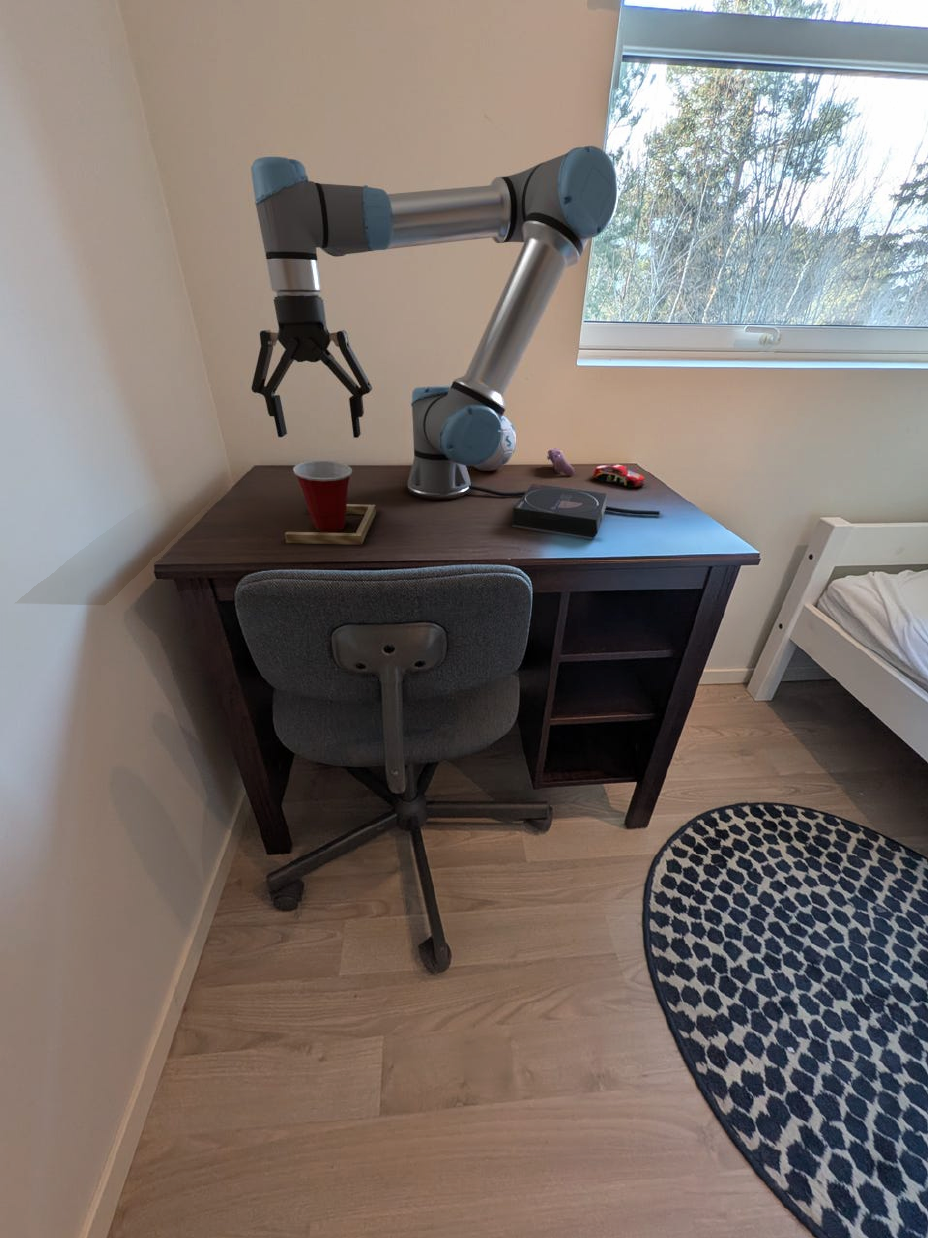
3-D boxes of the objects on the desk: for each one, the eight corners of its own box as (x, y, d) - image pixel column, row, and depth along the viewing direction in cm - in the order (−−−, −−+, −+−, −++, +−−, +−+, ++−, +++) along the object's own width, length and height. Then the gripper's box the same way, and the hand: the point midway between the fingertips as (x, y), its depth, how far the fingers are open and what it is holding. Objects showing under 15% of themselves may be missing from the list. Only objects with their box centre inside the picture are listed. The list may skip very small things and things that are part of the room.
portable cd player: (596, 539, 93) (599, 520, 91) (511, 526, 98) (513, 507, 96) (605, 511, 106) (608, 493, 104) (530, 500, 111) (532, 483, 109)
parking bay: (376, 512, 103) (375, 504, 102) (361, 544, 89) (360, 535, 88) (310, 511, 103) (309, 503, 102) (286, 543, 89) (284, 534, 88)
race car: (646, 485, 122) (650, 469, 120) (638, 490, 118) (641, 474, 116) (600, 474, 129) (602, 459, 127) (590, 479, 125) (593, 463, 123)
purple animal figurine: (551, 471, 136) (542, 448, 132) (566, 463, 135) (558, 440, 131) (560, 482, 128) (551, 458, 124) (576, 474, 127) (567, 450, 123)
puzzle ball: (511, 479, 124) (515, 418, 116) (454, 475, 126) (454, 414, 118) (516, 463, 136) (520, 407, 128) (464, 460, 138) (465, 404, 130)
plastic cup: (345, 540, 91) (337, 477, 84) (293, 534, 92) (281, 473, 86) (366, 519, 100) (360, 461, 93) (318, 514, 101) (309, 457, 95)
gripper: (380, 295, 78) (391, 431, 90) (228, 294, 78) (259, 430, 90) (372, 294, 72) (385, 441, 83) (207, 293, 72) (243, 440, 84)
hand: (320, 435), depth 87 cm, fingers open, 13 cm apart
